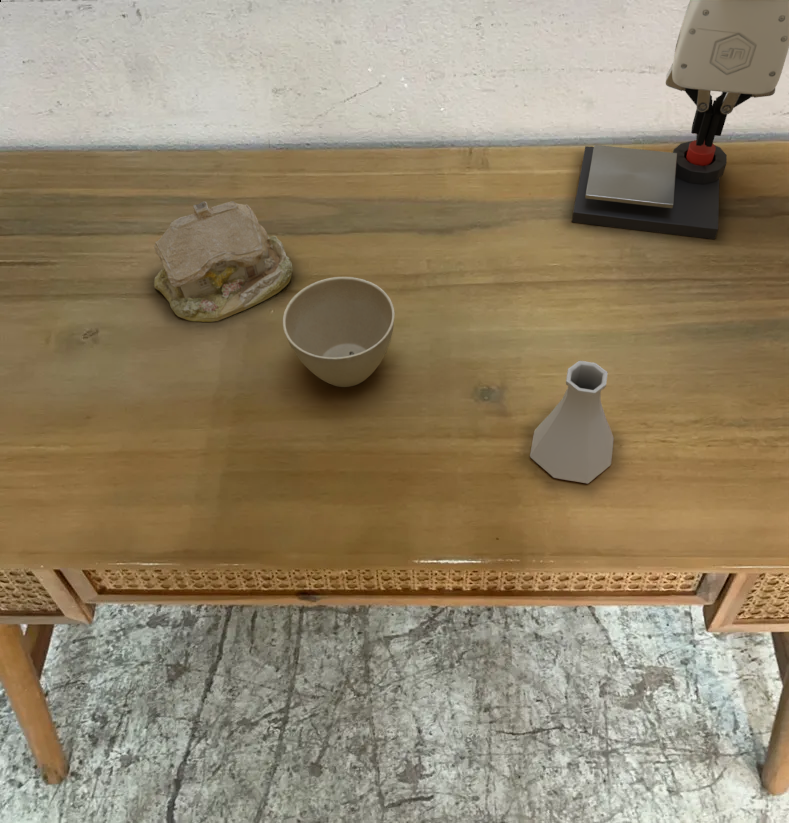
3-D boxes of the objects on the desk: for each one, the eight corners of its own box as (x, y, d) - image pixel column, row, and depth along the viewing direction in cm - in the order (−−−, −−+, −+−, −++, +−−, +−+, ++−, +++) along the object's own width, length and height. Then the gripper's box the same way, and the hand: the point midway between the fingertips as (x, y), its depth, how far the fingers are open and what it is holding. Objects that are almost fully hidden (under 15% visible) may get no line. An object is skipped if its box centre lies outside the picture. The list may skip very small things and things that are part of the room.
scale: (720, 166, 95) (727, 143, 93) (718, 240, 88) (725, 217, 85) (584, 151, 98) (587, 129, 96) (571, 222, 91) (575, 200, 88)
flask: (627, 436, 73) (649, 362, 65) (593, 497, 70) (612, 427, 62) (551, 404, 76) (564, 329, 68) (515, 461, 72) (524, 389, 64)
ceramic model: (170, 336, 83) (141, 262, 75) (148, 266, 90) (119, 191, 82) (303, 295, 86) (289, 218, 78) (272, 230, 92) (256, 153, 84)
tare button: (712, 152, 93) (716, 140, 91) (711, 168, 91) (715, 155, 90) (686, 150, 93) (689, 138, 92) (685, 165, 92) (688, 153, 90)
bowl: (281, 347, 82) (269, 294, 76) (377, 317, 83) (372, 264, 78) (311, 422, 76) (300, 371, 70) (413, 389, 78) (411, 337, 72)
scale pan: (676, 156, 92) (677, 152, 92) (672, 208, 87) (673, 204, 86) (593, 148, 94) (594, 144, 93) (585, 198, 88) (585, 194, 88)
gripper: (667, -22, 75) (630, 152, 89) (844, -10, 72) (777, 167, 87) (671, -60, 79) (636, 112, 94) (839, -50, 76) (775, 125, 91)
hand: (703, 138), depth 90 cm, fingers closed
